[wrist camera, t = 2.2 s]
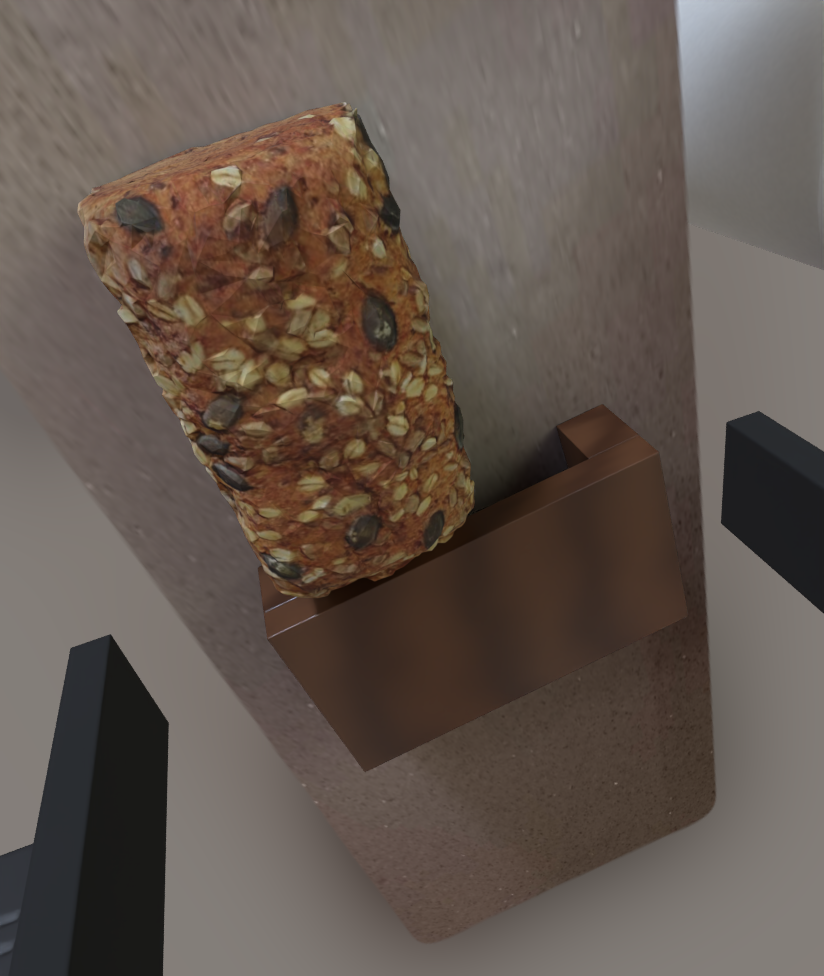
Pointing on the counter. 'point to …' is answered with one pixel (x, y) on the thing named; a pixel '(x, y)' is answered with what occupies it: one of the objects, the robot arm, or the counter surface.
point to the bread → (292, 344)
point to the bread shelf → (493, 601)
